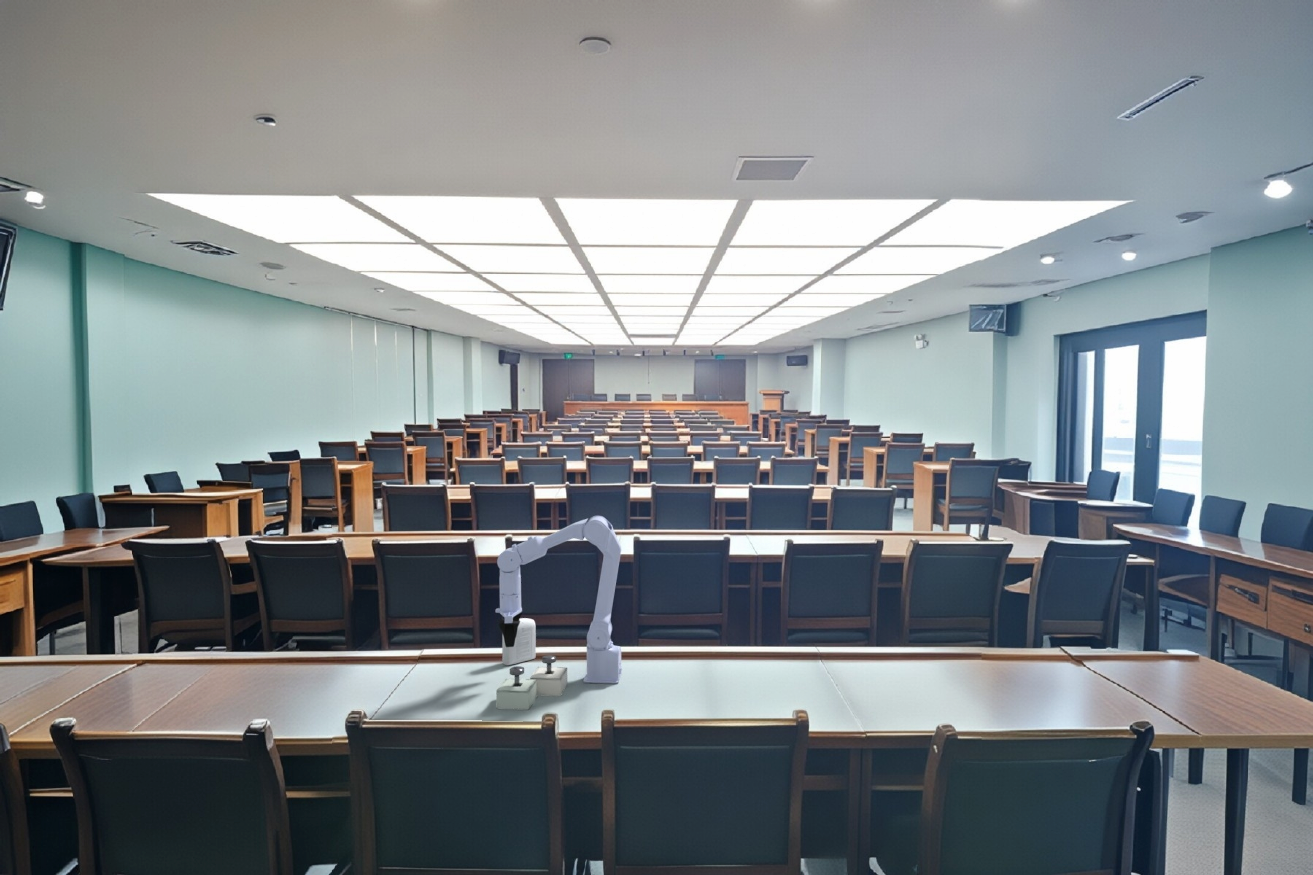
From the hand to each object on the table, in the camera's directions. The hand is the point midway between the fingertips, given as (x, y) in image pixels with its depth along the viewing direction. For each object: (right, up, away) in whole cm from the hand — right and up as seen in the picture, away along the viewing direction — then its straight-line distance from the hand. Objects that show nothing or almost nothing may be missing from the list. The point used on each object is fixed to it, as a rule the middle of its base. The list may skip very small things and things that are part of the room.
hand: (511, 642), depth 188 cm
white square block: (+12, -10, -8) cm, 17 cm away
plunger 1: (+5, -7, -16) cm, 18 cm away
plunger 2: (+12, -7, -8) cm, 16 cm away
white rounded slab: (-1, -10, +14) cm, 17 cm away
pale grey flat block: (+5, -10, -16) cm, 20 cm away
